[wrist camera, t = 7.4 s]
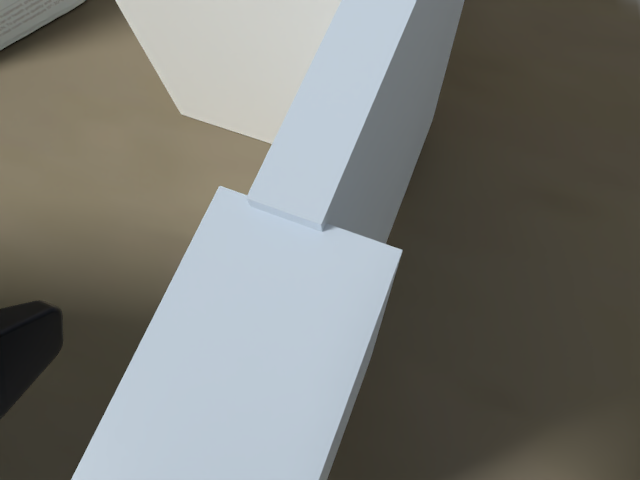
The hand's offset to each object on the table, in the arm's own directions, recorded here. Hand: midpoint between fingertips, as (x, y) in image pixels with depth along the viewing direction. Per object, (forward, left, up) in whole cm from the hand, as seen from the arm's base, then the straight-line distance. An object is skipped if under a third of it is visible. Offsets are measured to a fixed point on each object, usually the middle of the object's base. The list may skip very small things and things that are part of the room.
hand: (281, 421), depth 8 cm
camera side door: (+2, -3, -7) cm, 7 cm away
